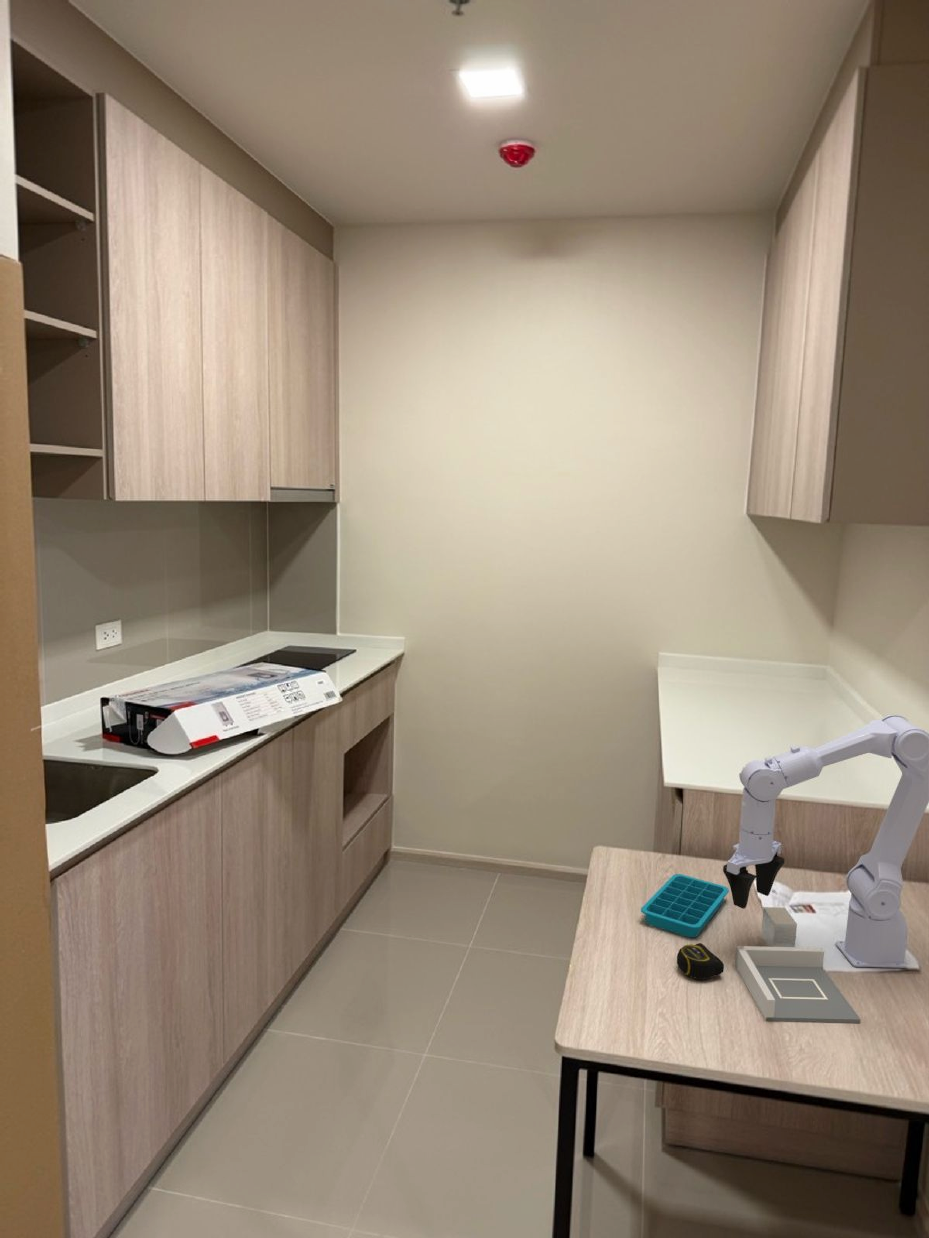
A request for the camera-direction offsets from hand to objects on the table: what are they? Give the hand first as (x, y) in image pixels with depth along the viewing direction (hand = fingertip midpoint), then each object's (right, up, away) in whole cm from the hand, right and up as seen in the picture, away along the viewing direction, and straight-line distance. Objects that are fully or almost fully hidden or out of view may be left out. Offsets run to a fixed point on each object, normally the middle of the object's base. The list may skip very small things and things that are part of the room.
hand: (751, 899), depth 157 cm
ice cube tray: (-8, -8, +15) cm, 19 cm away
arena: (+3, -12, -12) cm, 17 cm away
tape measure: (-11, -11, -6) cm, 16 cm away
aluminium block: (+6, -9, +3) cm, 11 cm away
